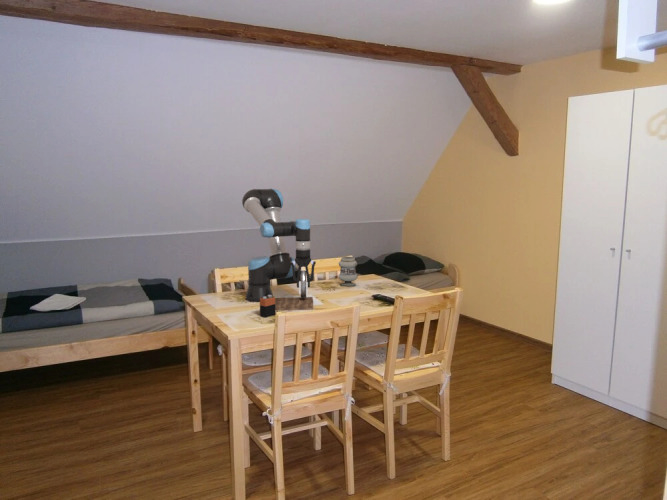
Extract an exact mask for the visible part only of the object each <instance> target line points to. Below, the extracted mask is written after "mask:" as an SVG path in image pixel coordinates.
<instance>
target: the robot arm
mask: <svg viewBox="0 0 667 500" xmlns="http://www.w3.org/2000/svg"><path fill="white" fill-rule="evenodd" d="M283 197H284V196H283V195H282V192H281V191H280V190H279V189H276V188H253V189H250V190H248V191H247V192H246V193H245V194H244V195H243V197H242V200H241V202H242V207H243V209H244V210H245V211H246V212H247V213H250V215H251V216H252V217H253V219H254V220H255V221H256V223H257V224H258V225H259V232H260V236H261V237H262V238H268V242H269V246H270V253H271V254H270V256H257V257H253V258H250V260H248V267H247V269H248V270H247V271H248V287H247V290H246V294H245V300H246V301H247V302H252V303H253V302H254V303H260V298H263V297H264V296H266V297H267V296H268V295H272V297H274V294H273V291H272V288H271V284H270V283H271V282H270V280H277V279H279V280H280V279H287V278H292V279H293V281H295V282H296V287H297V288H298V295H301V282H300V271H302V268H305V271H306V295H308V292H309V290H308V288H311V281H313V280H314V275H315V266H316V261H315V260H312V258H311V221H310V219H308V218H297V219H295V221H294V220H290V221H281V217H280V216H281V215H280V212H281V211H282V208H283V205H284V199H283ZM284 237H295V257H292V256H290V253H289V252H288V251H287V250H286V248H287V247H286V244H285V238H284ZM296 264H297V266H298V269H297V277H296ZM310 264H311V270H310V272H309V265H310ZM309 273H310V274H309Z"/></svg>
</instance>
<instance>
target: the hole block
mask: <svg viewBox="0 0 667 500" xmlns="http://www.w3.org/2000/svg"><path fill="white" fill-rule="evenodd" d="M306 310H307V311H308V310H309V311H310V310H314V298H313V296H306V298H301V296H299V297H297V296H295V297H292V296H291V297H289V296H288V297H275V311H306Z"/></svg>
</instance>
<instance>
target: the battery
mask: <svg viewBox="0 0 667 500" xmlns="http://www.w3.org/2000/svg"><path fill="white" fill-rule="evenodd" d="M275 298H276V297H275V296H273V297H272V295H268V296H267V297H266V296H264V297H263V298H260V302H259V315H260V316H259V317H262V318H264V319H265V318H268V317H269V318H270V317H272V316H276V310H275Z"/></svg>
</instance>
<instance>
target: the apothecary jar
mask: <svg viewBox="0 0 667 500" xmlns="http://www.w3.org/2000/svg"><path fill="white" fill-rule="evenodd" d="M355 259H356V258H355V256H341V259H340V260H339V262H338V266H339V268H340V273H339V274H338V279H339V281H342V283H340V284H339V285H340V287H344V288H353V287H355V286H357V285H356V283H354V281H356V280H357V279H358V274H357V272H356V271H357V270H356V267H357V266H358V262H357V260H355Z"/></svg>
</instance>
